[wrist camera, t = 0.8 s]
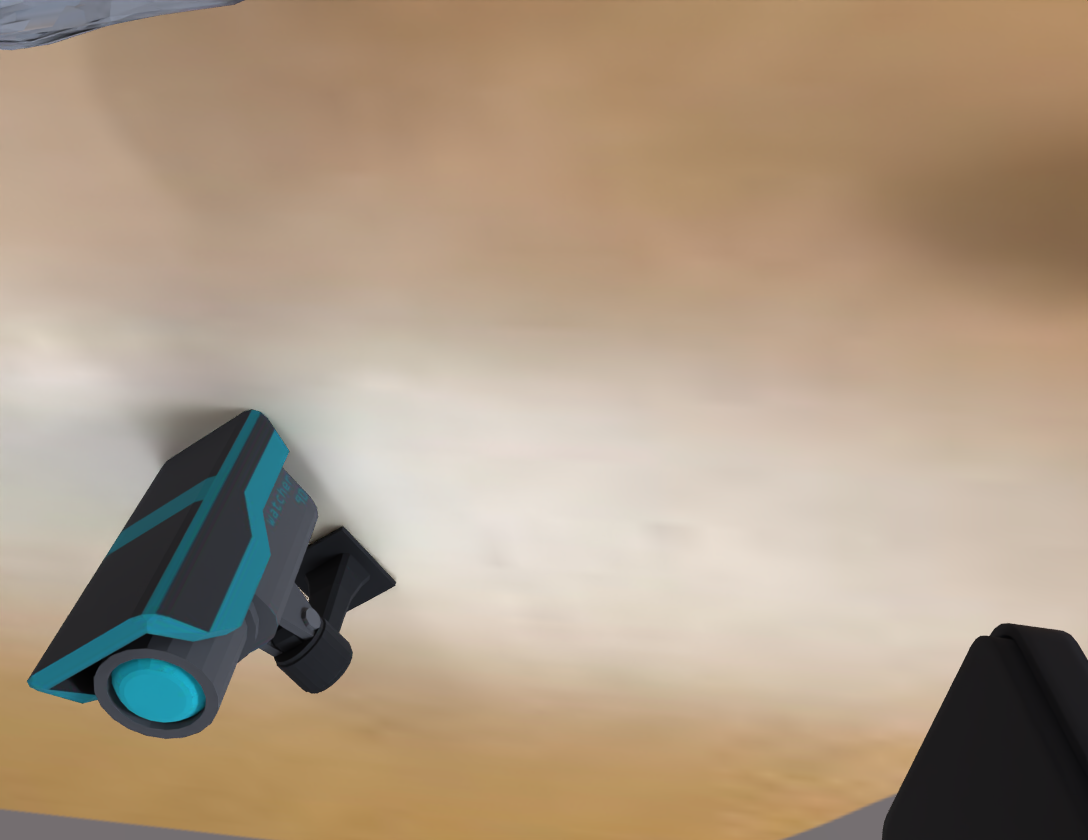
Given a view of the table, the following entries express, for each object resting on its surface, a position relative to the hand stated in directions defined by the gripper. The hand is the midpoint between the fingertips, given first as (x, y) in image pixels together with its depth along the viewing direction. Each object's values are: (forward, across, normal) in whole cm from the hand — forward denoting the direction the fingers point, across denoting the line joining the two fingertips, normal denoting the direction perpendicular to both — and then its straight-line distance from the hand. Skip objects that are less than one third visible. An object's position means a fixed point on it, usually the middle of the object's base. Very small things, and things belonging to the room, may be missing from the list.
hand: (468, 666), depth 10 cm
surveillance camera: (+28, +8, +20) cm, 35 cm away
